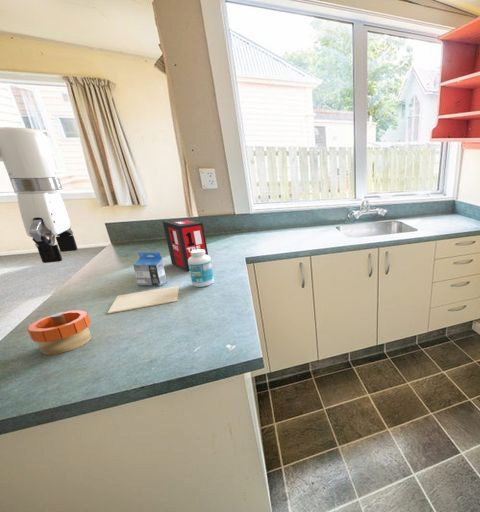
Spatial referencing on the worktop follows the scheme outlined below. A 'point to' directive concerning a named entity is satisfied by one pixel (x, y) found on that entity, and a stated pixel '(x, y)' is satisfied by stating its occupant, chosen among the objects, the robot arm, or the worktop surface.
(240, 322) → the worktop surface
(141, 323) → the worktop surface
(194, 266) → the pill bottle
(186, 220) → the cleaning product box
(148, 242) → the worktop surface
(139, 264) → the label tape box
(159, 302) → the mat
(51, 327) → the ring
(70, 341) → the stake stand
